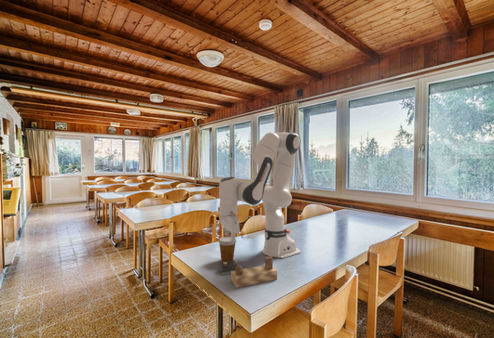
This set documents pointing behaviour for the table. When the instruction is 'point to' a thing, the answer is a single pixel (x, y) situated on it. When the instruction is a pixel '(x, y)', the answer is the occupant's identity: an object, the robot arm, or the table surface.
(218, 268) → the felt pad
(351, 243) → the table surface
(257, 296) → the table surface
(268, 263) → the plane body
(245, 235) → the table surface
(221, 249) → the disposable coffee cup
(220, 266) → the lever cap
